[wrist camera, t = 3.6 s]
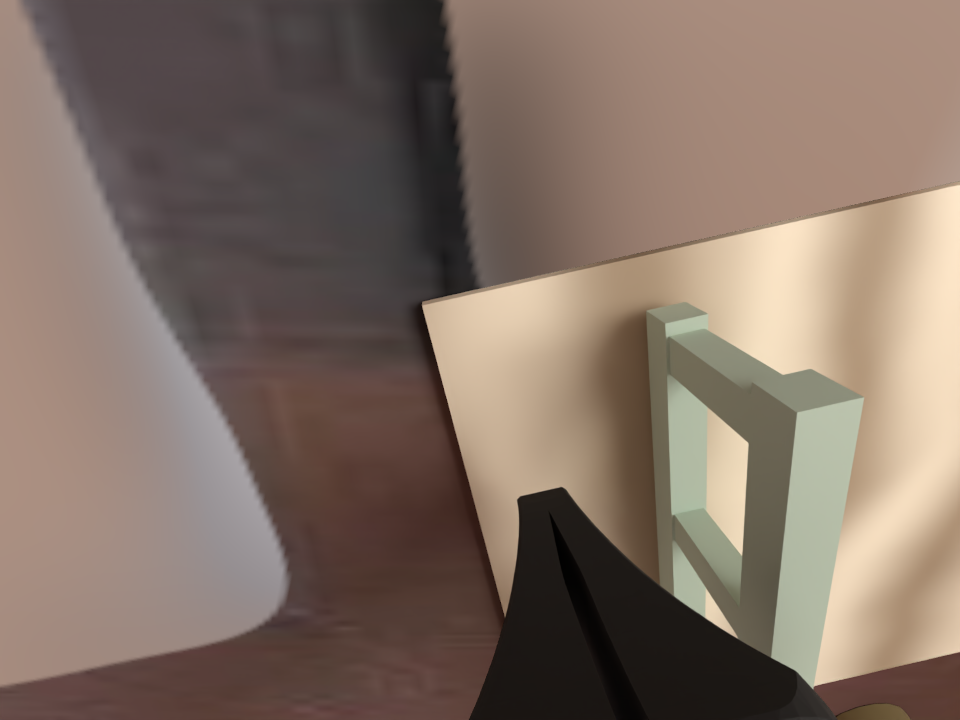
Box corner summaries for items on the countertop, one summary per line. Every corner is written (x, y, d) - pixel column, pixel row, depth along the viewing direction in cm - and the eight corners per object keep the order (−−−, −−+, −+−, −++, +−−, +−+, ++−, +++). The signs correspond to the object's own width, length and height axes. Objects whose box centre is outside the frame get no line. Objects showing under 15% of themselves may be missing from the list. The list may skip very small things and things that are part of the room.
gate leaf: (689, 629, 19) (791, 813, 14) (662, 636, 19) (753, 822, 14) (685, 301, 13) (864, 396, 8) (646, 310, 13) (797, 412, 8)
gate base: (538, 740, 23) (584, 987, 16) (422, 301, 13) (411, 447, 6) (1024, 627, 23) (1274, 821, 16) (1257, 114, 14) (2114, 60, 7)
